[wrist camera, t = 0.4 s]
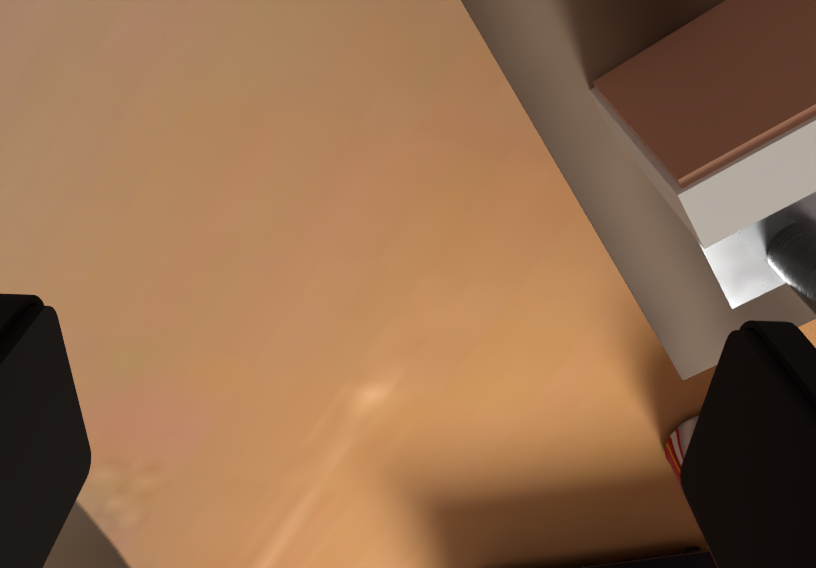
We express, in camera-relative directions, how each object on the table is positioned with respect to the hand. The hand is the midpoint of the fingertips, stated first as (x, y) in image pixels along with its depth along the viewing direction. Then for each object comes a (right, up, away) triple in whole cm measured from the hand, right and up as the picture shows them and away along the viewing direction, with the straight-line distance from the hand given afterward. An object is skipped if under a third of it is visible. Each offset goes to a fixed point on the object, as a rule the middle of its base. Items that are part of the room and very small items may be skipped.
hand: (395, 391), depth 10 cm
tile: (+12, +11, +17) cm, 23 cm away
